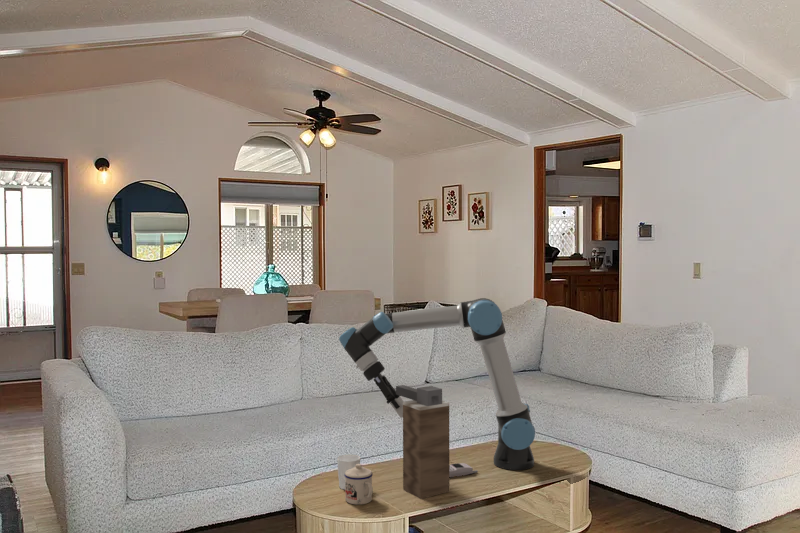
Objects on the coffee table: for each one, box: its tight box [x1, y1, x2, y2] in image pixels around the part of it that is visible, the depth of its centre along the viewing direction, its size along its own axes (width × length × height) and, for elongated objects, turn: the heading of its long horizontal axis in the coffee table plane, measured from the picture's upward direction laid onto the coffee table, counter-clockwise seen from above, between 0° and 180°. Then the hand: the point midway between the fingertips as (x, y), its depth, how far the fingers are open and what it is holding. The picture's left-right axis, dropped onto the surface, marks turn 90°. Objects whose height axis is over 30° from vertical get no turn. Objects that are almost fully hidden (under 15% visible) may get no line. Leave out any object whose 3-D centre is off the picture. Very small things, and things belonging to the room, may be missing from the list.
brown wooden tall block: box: [402, 399, 450, 500], centre depth 233 cm, size 10×12×30 cm
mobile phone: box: [449, 462, 478, 478], centre depth 249 cm, size 6×6×25 cm
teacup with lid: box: [344, 463, 374, 506], centre depth 224 cm, size 12×9×12 cm
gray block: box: [395, 384, 443, 406], centre depth 237 cm, size 21×6×5 cm, turn 34°
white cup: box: [336, 454, 361, 491], centre depth 238 cm, size 8×8×10 cm
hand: (406, 414), depth 247 cm, fingers open, 13 cm apart
